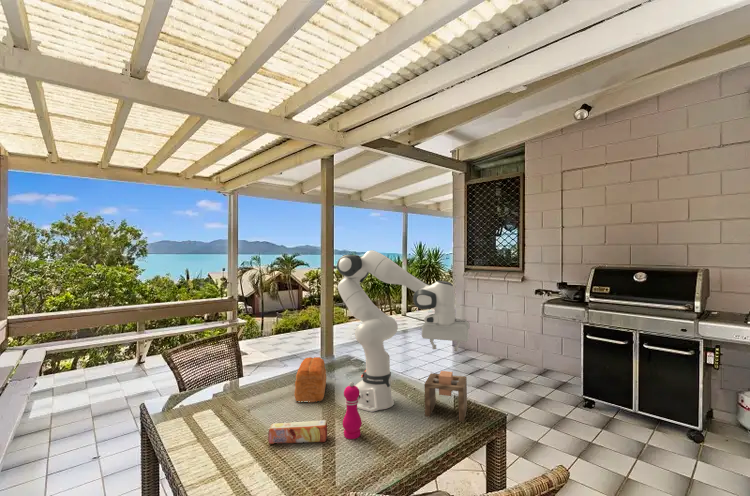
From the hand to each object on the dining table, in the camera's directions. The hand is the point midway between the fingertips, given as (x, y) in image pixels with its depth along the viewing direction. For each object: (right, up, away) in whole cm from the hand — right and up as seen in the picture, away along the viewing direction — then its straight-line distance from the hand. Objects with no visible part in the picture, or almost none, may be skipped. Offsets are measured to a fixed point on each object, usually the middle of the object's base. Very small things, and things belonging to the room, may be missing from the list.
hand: (445, 350), depth 151 cm
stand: (0, -27, -1) cm, 27 cm away
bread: (-63, -29, +24) cm, 73 cm away
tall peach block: (0, -18, -1) cm, 18 cm away
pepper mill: (-39, -27, -19) cm, 51 cm away
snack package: (-59, -27, -23) cm, 69 cm away
